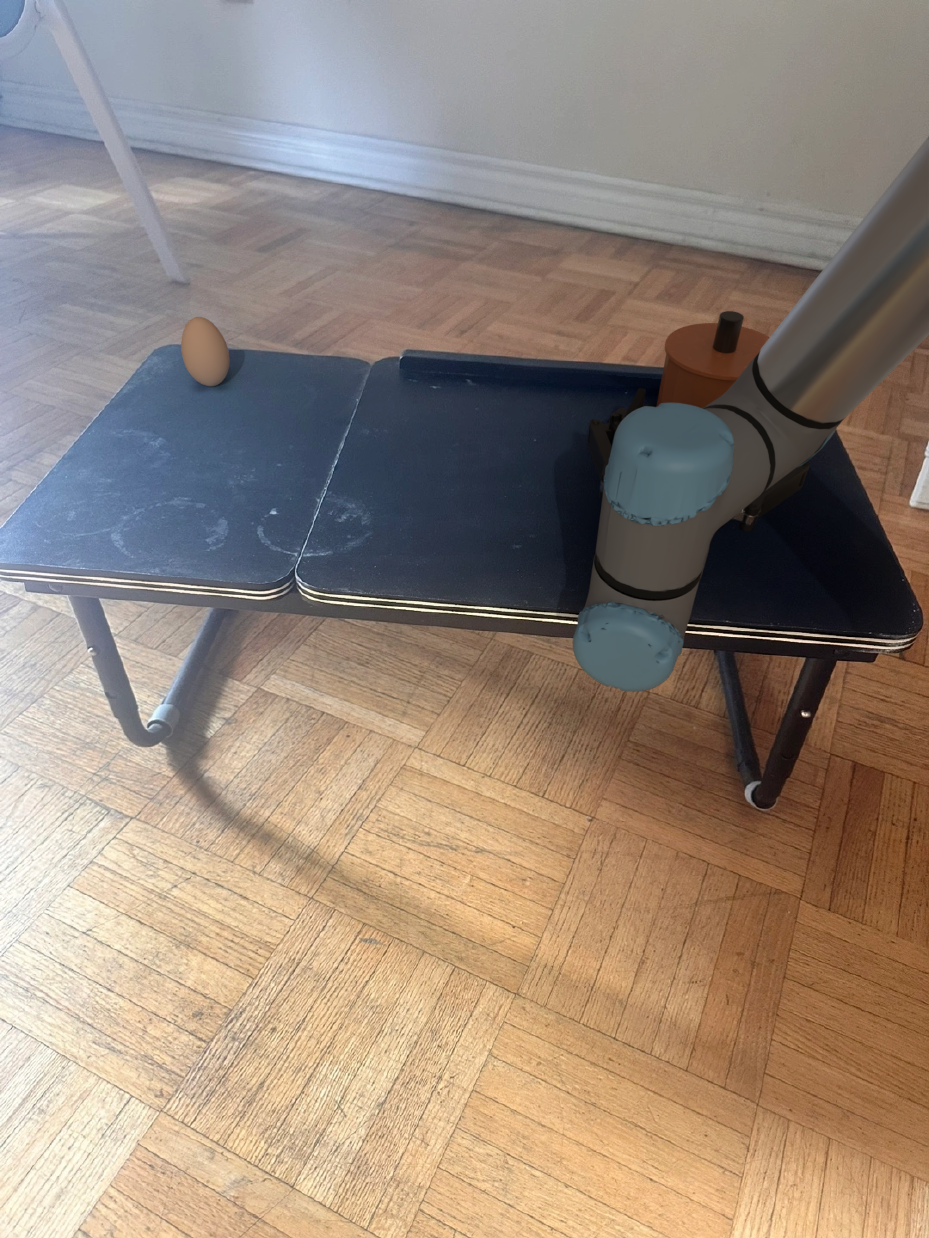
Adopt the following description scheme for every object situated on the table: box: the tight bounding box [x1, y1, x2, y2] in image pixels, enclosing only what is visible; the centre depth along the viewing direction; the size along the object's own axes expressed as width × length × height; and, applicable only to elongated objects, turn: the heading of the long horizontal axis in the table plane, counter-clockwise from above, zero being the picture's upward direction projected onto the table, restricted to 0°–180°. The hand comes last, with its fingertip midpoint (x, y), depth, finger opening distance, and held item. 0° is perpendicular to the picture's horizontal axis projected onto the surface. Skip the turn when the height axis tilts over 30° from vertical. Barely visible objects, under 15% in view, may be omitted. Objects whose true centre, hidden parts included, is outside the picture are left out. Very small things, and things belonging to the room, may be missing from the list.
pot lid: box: [664, 310, 770, 381], centre depth 85 cm, size 12×12×5 cm
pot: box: [655, 353, 735, 408], centre depth 89 cm, size 11×11×8 cm
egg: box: [180, 316, 231, 387], centre depth 96 cm, size 5×5×8 cm
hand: (707, 413), depth 82 cm, fingers open, 13 cm apart
